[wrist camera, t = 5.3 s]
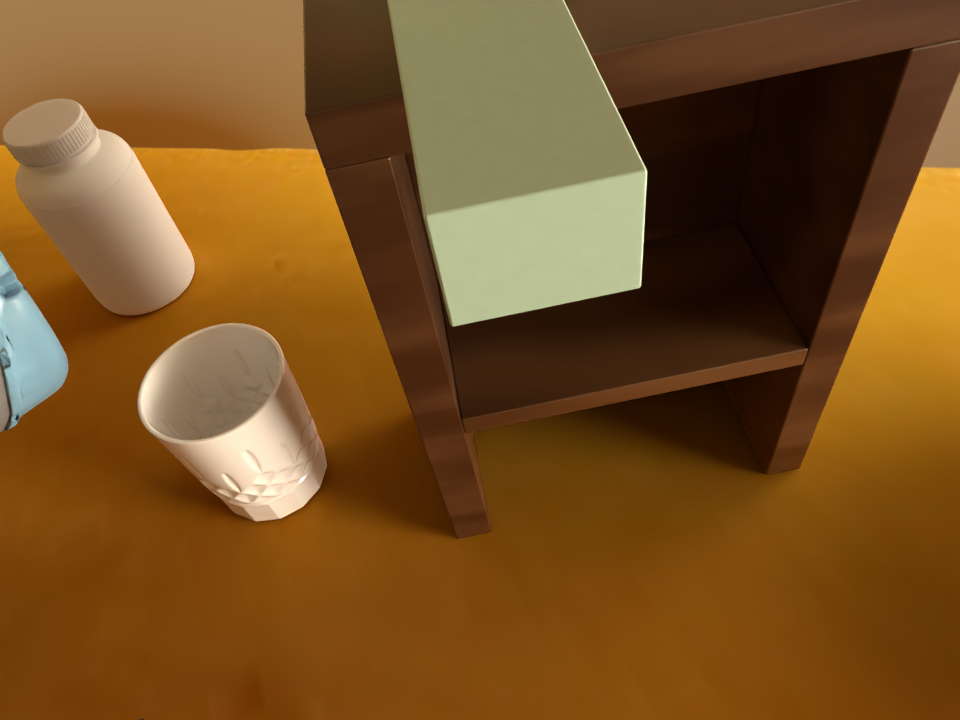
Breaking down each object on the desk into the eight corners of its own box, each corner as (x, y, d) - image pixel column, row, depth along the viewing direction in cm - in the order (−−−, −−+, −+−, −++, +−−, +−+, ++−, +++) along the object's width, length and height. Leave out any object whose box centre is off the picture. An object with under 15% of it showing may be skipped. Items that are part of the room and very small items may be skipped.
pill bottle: (171, 322, 57) (59, 160, 45) (81, 315, 59) (-49, 157, 47) (214, 249, 61) (123, 85, 50) (130, 244, 63) (23, 85, 52)
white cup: (211, 442, 49) (137, 346, 42) (327, 406, 50) (275, 306, 42) (217, 548, 44) (135, 463, 37) (346, 507, 45) (291, 415, 37)
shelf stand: (436, 399, 49) (301, -40, 27) (735, 338, 49) (840, -153, 27) (457, 539, 43) (304, 113, 21) (800, 468, 43) (1003, -32, 21)
